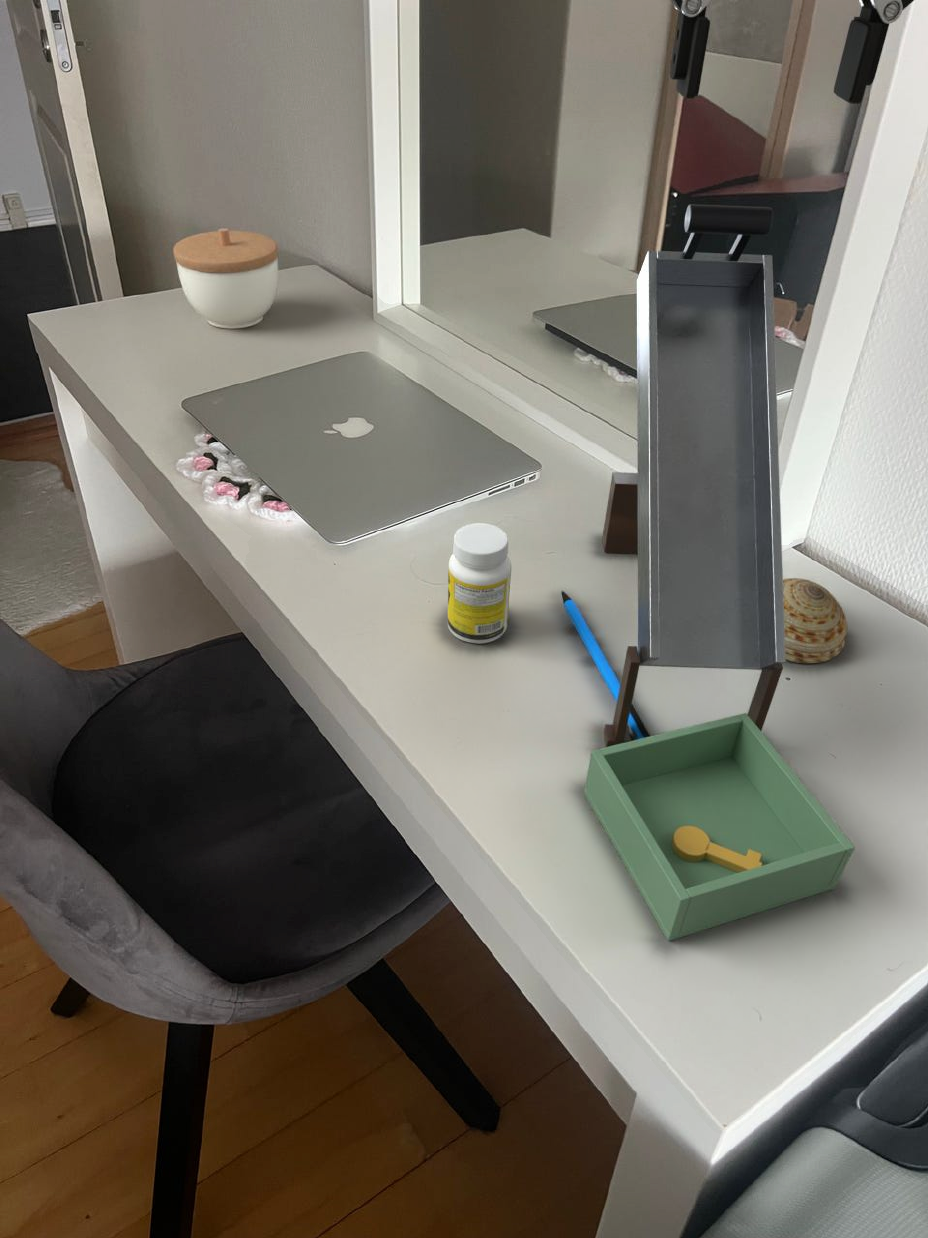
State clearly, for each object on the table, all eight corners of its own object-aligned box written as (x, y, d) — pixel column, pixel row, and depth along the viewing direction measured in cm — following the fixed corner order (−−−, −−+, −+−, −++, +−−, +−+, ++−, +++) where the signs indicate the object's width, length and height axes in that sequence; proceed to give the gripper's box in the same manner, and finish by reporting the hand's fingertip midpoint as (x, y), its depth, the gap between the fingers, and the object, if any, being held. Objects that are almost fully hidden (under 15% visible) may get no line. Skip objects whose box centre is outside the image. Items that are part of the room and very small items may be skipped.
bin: (732, 753, 62) (746, 712, 60) (834, 888, 54) (855, 847, 52) (583, 792, 59) (590, 750, 57) (668, 941, 51) (681, 900, 48)
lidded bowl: (206, 344, 112) (192, 252, 105) (170, 310, 120) (155, 222, 113) (300, 325, 117) (293, 236, 110) (260, 294, 125) (251, 209, 118)
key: (679, 820, 56) (677, 827, 57) (669, 846, 55) (667, 853, 55) (765, 854, 54) (762, 861, 55) (757, 882, 53) (754, 889, 53)
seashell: (801, 561, 76) (870, 582, 69) (800, 625, 78) (867, 653, 71) (716, 578, 74) (778, 601, 67) (717, 643, 76) (777, 673, 68)
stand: (576, 539, 82) (586, 460, 77) (694, 543, 82) (712, 464, 77) (606, 749, 62) (622, 662, 57) (761, 754, 62) (791, 667, 57)
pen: (649, 768, 61) (652, 757, 60) (556, 596, 75) (557, 585, 74) (661, 766, 61) (664, 754, 60) (566, 594, 75) (567, 583, 74)
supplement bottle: (462, 600, 74) (466, 513, 69) (516, 617, 73) (524, 529, 67) (436, 634, 71) (438, 545, 65) (492, 653, 69) (498, 563, 64)
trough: (636, 273, 63) (664, 197, 55) (754, 278, 63) (799, 202, 55) (637, 665, 58) (668, 645, 50) (765, 670, 58) (817, 650, 50)
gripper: (994, -292, 47) (886, 89, 58) (658, -306, 46) (613, 81, 57) (1070, -315, 41) (934, 114, 52) (687, -331, 41) (631, 105, 51)
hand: (766, 96), depth 54 cm, fingers open, 9 cm apart
